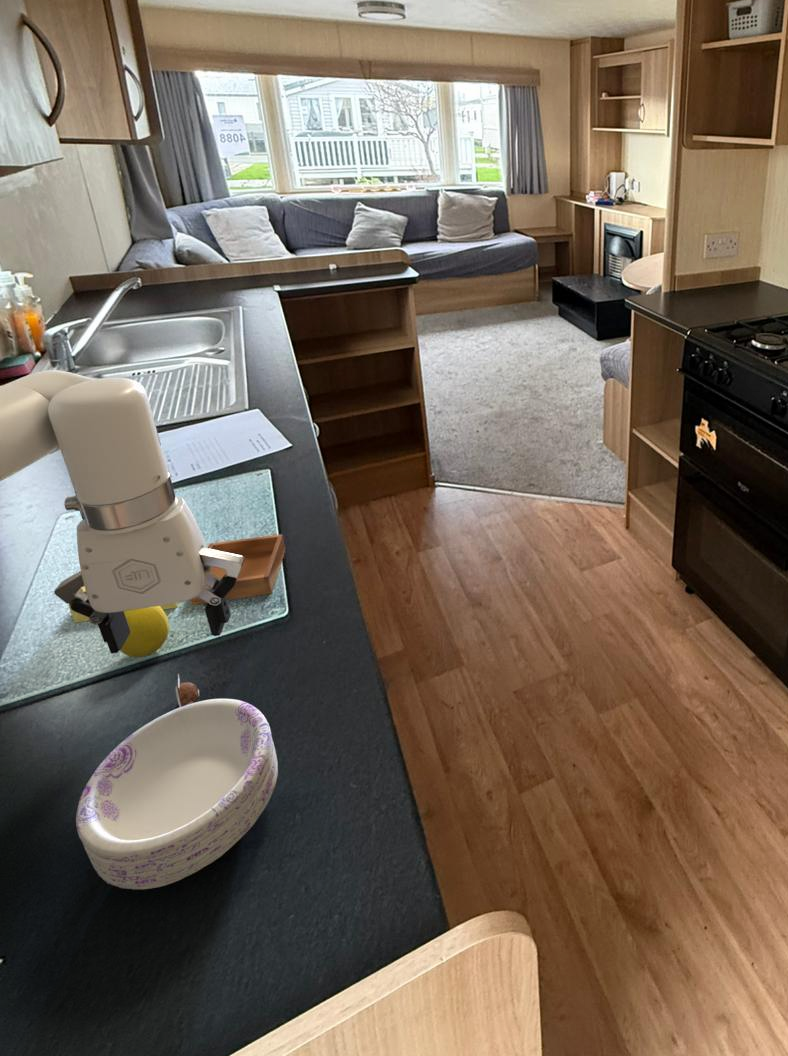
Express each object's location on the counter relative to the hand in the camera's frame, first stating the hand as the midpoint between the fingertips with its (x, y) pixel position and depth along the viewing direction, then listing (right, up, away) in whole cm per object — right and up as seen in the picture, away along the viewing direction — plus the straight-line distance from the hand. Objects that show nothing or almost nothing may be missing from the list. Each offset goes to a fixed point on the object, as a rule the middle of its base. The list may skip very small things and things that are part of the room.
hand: (171, 635), depth 71 cm
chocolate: (0, -10, +4) cm, 11 cm away
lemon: (-10, -7, +11) cm, 16 cm away
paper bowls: (+8, -15, -9) cm, 19 cm away
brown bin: (-6, -1, +24) cm, 25 cm away
